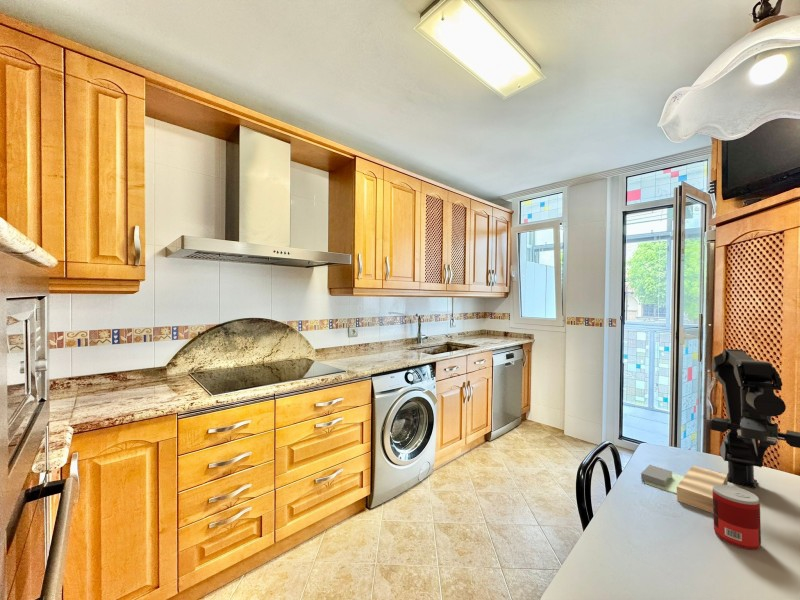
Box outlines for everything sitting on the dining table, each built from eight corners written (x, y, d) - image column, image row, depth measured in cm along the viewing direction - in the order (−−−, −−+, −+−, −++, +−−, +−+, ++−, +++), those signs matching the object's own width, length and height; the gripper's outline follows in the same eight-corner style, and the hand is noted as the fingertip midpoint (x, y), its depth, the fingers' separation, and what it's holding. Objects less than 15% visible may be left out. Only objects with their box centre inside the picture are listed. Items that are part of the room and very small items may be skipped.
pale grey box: (672, 471, 107) (672, 477, 107) (649, 464, 111) (649, 470, 111) (664, 480, 101) (664, 487, 101) (641, 473, 106) (641, 479, 106)
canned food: (771, 553, 74) (769, 503, 74) (729, 548, 76) (727, 499, 76) (743, 530, 82) (741, 485, 82) (705, 526, 83) (704, 482, 84)
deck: (693, 477, 107) (692, 465, 107) (727, 488, 101) (727, 475, 101) (677, 500, 94) (676, 486, 95) (715, 513, 88) (714, 498, 88)
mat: (657, 469, 113) (657, 468, 113) (691, 479, 106) (691, 478, 106) (644, 482, 104) (643, 482, 104) (680, 495, 97) (680, 494, 97)
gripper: (704, 404, 94) (706, 459, 94) (808, 421, 80) (811, 486, 79) (712, 397, 101) (714, 448, 101) (808, 412, 87) (811, 472, 86)
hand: (757, 462), depth 92 cm, fingers closed
